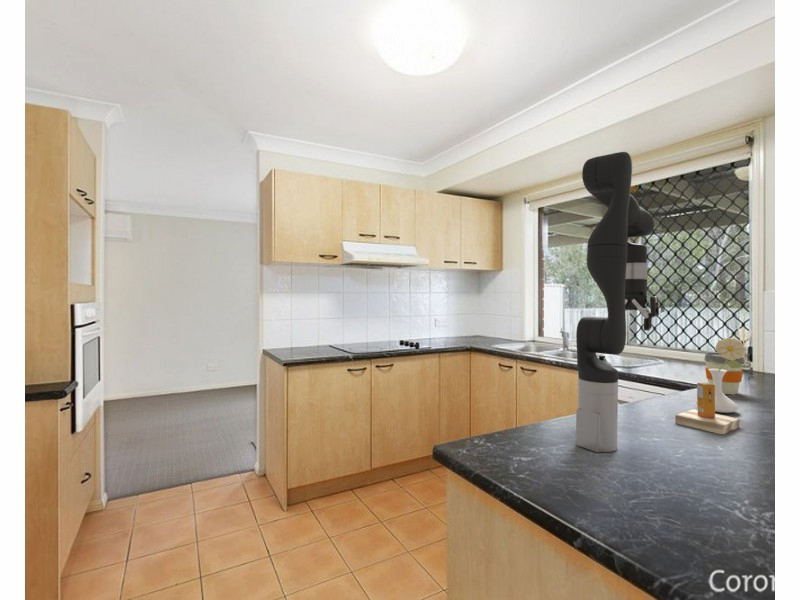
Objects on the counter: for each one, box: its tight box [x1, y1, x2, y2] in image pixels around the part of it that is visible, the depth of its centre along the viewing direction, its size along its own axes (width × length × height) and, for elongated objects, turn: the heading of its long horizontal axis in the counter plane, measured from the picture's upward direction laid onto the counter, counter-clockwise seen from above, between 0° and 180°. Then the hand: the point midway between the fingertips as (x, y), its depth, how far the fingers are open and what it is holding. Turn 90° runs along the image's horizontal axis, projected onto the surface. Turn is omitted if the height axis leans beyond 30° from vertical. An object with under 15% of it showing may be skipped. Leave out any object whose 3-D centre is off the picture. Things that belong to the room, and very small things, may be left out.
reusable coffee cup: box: [703, 352, 745, 396], centre depth 165 cm, size 13×13×15 cm
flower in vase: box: [695, 337, 747, 414], centre depth 138 cm, size 13×11×25 cm
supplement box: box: [696, 382, 716, 418], centre depth 123 cm, size 3×3×10 cm
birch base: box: [674, 408, 741, 435], centre depth 123 cm, size 12×12×2 cm
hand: (632, 329), depth 129 cm, fingers open, 8 cm apart
